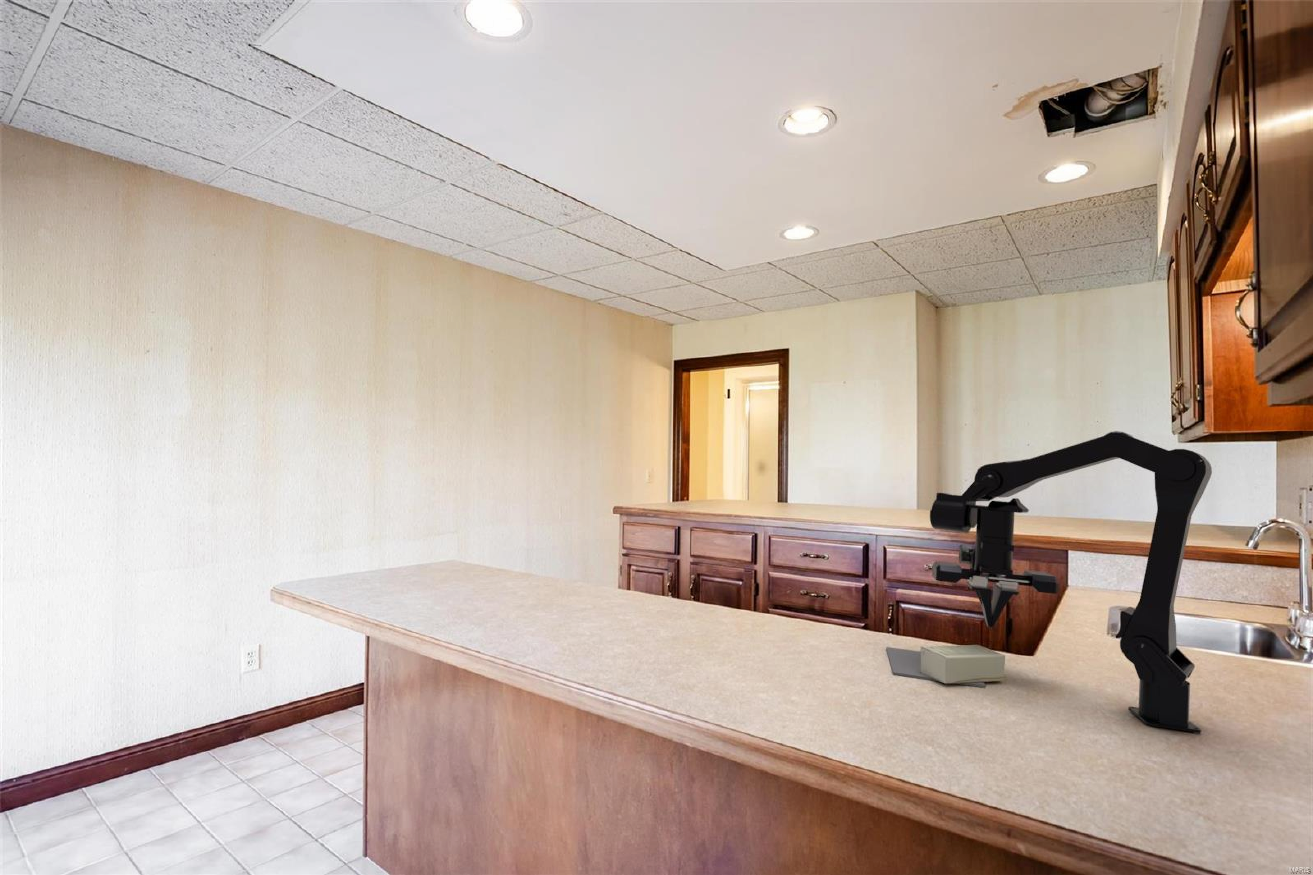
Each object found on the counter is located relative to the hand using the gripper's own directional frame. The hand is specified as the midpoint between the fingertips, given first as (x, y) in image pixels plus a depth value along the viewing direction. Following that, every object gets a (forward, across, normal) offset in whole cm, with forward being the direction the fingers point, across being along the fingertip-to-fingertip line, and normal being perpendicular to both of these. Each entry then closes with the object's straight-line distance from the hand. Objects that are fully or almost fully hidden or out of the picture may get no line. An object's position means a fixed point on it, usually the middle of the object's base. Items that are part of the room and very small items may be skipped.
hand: (990, 627), depth 109 cm
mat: (+8, +9, 0) cm, 12 cm away
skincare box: (+6, 0, +1) cm, 6 cm away
